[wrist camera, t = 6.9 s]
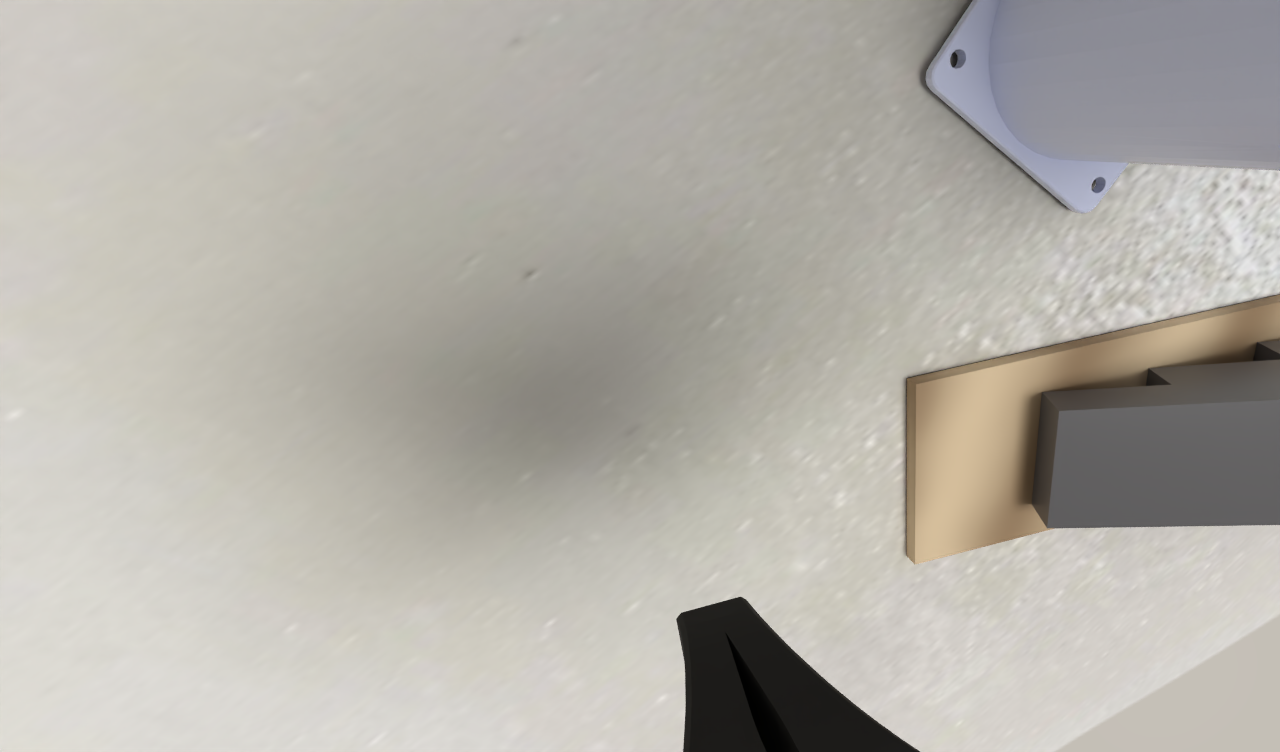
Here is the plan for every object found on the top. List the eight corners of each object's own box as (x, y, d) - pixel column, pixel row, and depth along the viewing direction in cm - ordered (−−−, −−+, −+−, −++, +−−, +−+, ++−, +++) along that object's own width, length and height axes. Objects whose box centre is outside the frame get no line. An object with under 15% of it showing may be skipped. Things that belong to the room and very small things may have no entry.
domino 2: (1041, 391, 24) (1297, 377, 22) (1031, 504, 26) (1266, 498, 24) (1059, 410, 23) (1333, 397, 21) (1046, 528, 25) (1297, 524, 23)
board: (1494, 246, 27) (1514, 248, 26) (1434, 419, 30) (1451, 425, 29) (906, 378, 24) (916, 384, 23) (906, 555, 27) (915, 564, 26)
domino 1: (1148, 368, 25) (1404, 351, 23) (1131, 479, 27) (1367, 472, 25) (1172, 385, 23) (1448, 368, 22) (1152, 502, 25) (1404, 495, 23)
